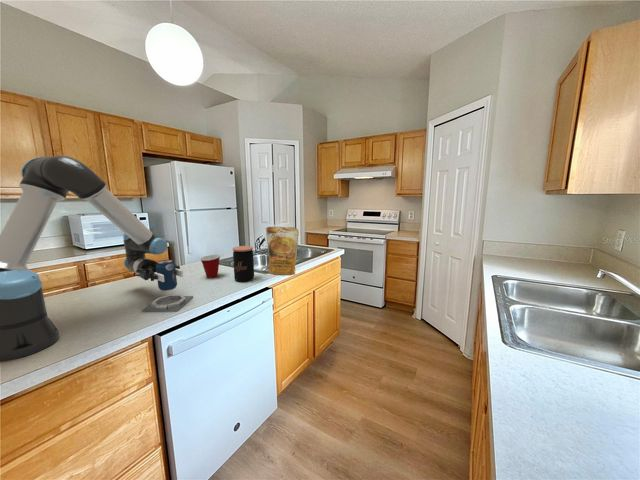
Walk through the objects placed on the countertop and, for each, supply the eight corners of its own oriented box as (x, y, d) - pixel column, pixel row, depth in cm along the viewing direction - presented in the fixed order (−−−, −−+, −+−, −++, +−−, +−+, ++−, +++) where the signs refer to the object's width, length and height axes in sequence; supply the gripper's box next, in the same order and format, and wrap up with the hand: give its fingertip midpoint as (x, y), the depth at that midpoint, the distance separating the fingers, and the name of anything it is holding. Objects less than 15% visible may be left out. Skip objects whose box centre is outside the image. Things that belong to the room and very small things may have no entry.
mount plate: (142, 311, 103) (141, 307, 103) (162, 297, 117) (161, 293, 116) (177, 311, 103) (177, 306, 103) (193, 297, 117) (192, 293, 117)
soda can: (179, 288, 109) (176, 261, 107) (160, 292, 104) (157, 264, 102) (175, 284, 114) (172, 258, 112) (157, 288, 109) (153, 261, 107)
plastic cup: (201, 275, 149) (199, 255, 147) (221, 272, 154) (219, 253, 152) (201, 281, 140) (199, 259, 137) (222, 278, 144) (221, 257, 142)
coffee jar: (230, 280, 140) (228, 248, 137) (244, 275, 149) (242, 245, 146) (244, 283, 135) (243, 250, 132) (258, 278, 145) (257, 247, 141)
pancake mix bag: (269, 271, 158) (267, 226, 153) (299, 272, 154) (298, 226, 149) (265, 274, 151) (263, 227, 146) (296, 276, 148) (295, 228, 143)
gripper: (169, 269, 126) (196, 277, 114) (122, 281, 110) (147, 292, 98) (167, 254, 125) (194, 261, 113) (119, 264, 109) (145, 273, 96)
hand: (172, 275), depth 105 cm, fingers closed on soda can, 7 cm apart
